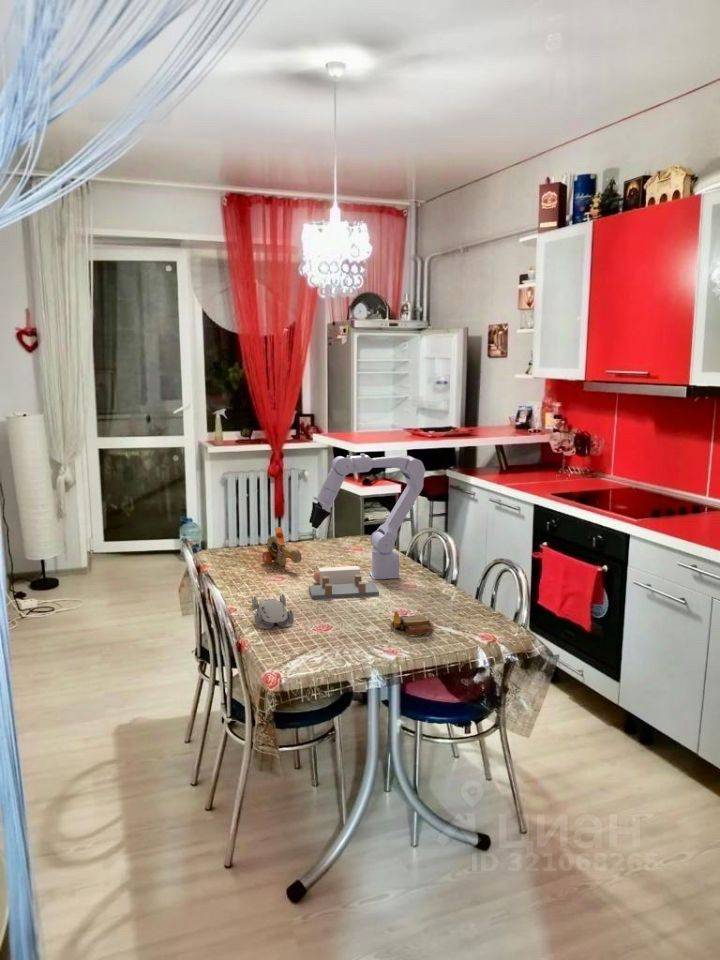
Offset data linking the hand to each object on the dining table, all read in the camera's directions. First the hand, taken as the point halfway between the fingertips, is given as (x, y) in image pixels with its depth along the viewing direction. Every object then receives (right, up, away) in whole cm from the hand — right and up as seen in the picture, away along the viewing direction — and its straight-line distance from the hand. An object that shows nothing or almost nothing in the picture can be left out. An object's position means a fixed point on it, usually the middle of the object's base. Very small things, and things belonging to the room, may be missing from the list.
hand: (313, 525), depth 247 cm
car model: (-10, -26, -28) cm, 40 cm away
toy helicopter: (-13, -17, +22) cm, 31 cm away
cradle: (+11, -22, -7) cm, 25 cm away
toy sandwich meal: (+31, -28, -38) cm, 57 cm away
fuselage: (+9, -20, +4) cm, 22 cm away
